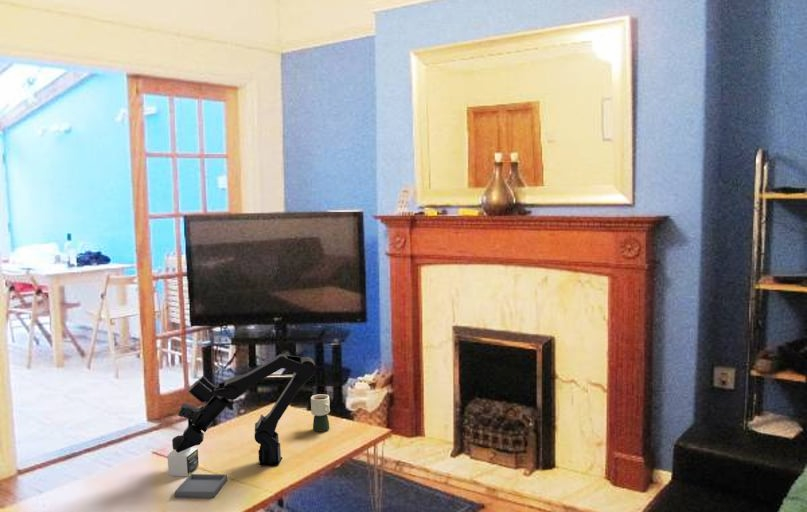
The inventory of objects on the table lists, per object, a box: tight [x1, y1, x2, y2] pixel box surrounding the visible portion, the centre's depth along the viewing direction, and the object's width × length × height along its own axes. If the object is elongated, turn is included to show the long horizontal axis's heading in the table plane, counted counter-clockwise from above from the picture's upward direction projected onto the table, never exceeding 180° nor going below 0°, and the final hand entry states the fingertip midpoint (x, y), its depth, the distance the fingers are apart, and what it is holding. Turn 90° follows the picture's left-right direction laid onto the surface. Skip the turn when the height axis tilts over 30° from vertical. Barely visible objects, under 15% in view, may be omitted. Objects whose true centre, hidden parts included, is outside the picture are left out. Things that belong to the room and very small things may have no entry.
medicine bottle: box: [167, 434, 200, 478], centre depth 216 cm, size 7×7×12 cm
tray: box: [174, 473, 228, 499], centre depth 204 cm, size 12×12×2 cm
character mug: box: [310, 393, 331, 432], centre depth 251 cm, size 11×7×13 cm, turn 43°
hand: (178, 446), depth 216 cm, fingers open, 9 cm apart
